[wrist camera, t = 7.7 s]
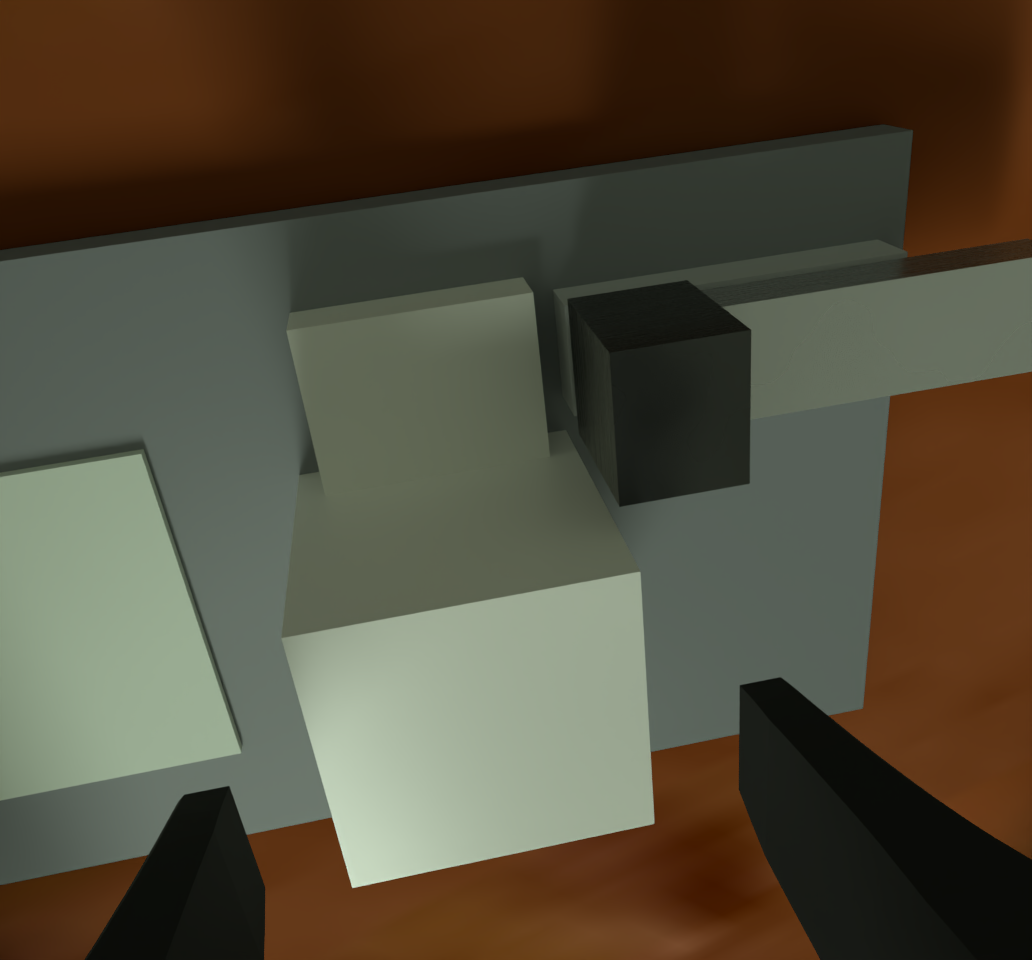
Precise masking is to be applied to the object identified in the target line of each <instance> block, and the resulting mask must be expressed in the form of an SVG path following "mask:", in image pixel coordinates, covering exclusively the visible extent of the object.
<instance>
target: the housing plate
mask: <svg viewBox="0 0 1032 960" xmlns="http://www.w3.org/2000/svg"><path fill="white" fill-rule="evenodd" d="M912 137H913V130H909V129H904V128H899V127H894V126H889V125H884V124H882V125H875V126H868V127H861V128H854V129H847V130H840V131H833V132H826V133H819V134H812V135H805V136H798V137H791V138H784V139H777V140H770V141H763V142H756V143H749V144H742V145H735V146H728V147H721V148H714V149H707V150H699V151H692V152H685V153H678V154H671V155H664V156H657V157H650V158H643V159H636V160H629V161H622V162H615V163H608V164H601V165H594V166H587V167H580V168H573V169H566V170H559V171H552V172H545V173H538V174H531V175H524V176H517V177H510V178H503V179H496V180H489V181H482V182H475V183H468V184H461V185H454V186H447V187H440V188H433V189H426V190H419V191H412V192H405V193H398V194H391V195H384V196H377V197H370V198H363V199H356V200H349V201H342V202H335V203H328V204H321V205H314V206H307V207H300V208H293V209H286V210H279V211H272V212H265V213H258V214H251V215H244V216H237V217H230V218H223V219H216V220H208V221H201V222H194V223H187V224H180V225H173V226H166V227H159V228H152V229H145V230H138V231H131V232H124V233H117V234H110V235H103V236H96V237H89V238H82V239H75V240H68V241H61V242H54V243H47V244H40V245H33V246H26V247H19V248H12V249H5V250H0V885H3V884H8V883H13V882H18V881H23V880H28V879H33V878H38V877H42V876H47V875H52V874H57V873H62V872H67V871H72V870H77V869H81V868H86V867H91V866H96V865H101V864H106V863H111V862H116V861H121V860H125V859H130V858H135V857H140V856H145V855H149V853H150V851H151V849H152V848H153V846H154V844H155V842H156V841H157V839H158V837H159V835H160V833H161V832H162V830H163V828H164V826H165V824H166V823H167V821H168V819H169V817H170V815H171V814H172V812H173V810H174V808H175V806H176V805H177V803H178V802H179V800H180V799H181V798H182V797H183V795H185V794H190V793H195V792H200V791H205V790H210V789H215V788H221V787H226V786H230V789H231V792H232V795H233V798H234V801H235V804H236V806H237V809H238V812H239V815H240V818H241V821H242V823H243V826H244V829H245V832H246V835H247V834H252V833H257V832H262V831H267V830H272V829H277V828H282V827H286V826H291V825H296V824H301V823H306V822H311V821H316V820H321V819H325V818H330V817H332V815H331V811H330V808H329V804H328V801H327V797H326V793H325V790H324V786H323V783H322V779H321V776H320V772H319V769H318V765H317V762H316V758H315V755H314V751H313V748H312V744H311V741H310V737H309V734H308V730H307V727H306V723H305V720H304V716H303V713H302V709H301V706H300V702H299V699H298V695H297V692H296V688H295V685H294V681H293V678H292V674H291V671H290V667H289V664H288V660H287V657H286V653H285V650H284V646H283V643H282V639H281V636H282V627H283V618H284V609H285V599H286V590H287V581H288V572H289V563H290V553H291V544H292V535H293V526H294V517H295V507H296V498H297V489H298V480H299V475H303V474H309V473H315V472H319V468H318V463H317V459H316V455H315V451H314V446H313V442H312V438H311V434H310V429H309V425H308V421H307V417H306V412H305V408H304V404H303V400H302V395H301V391H300V387H299V383H298V378H297V374H296V370H295V366H294V362H293V357H292V353H291V349H290V345H289V340H288V336H287V332H286V329H287V324H288V319H289V314H290V313H292V312H298V311H305V310H312V309H318V308H325V307H331V306H338V305H344V304H351V303H357V302H364V301H370V300H377V299H383V298H390V297H396V296H403V295H410V294H416V293H423V292H429V291H436V290H442V289H449V288H455V287H462V286H468V285H475V284H481V283H488V282H494V281H501V280H508V279H514V278H521V277H523V278H524V280H525V281H526V283H527V284H528V286H529V287H530V288H531V290H532V291H533V296H534V305H535V315H536V325H537V334H538V344H539V354H540V364H541V373H542V383H543V393H544V402H545V412H546V422H547V431H548V433H550V432H556V431H562V430H566V431H567V433H568V435H569V437H570V439H571V441H572V443H573V444H574V446H575V448H576V450H577V452H578V454H579V456H580V458H581V460H582V462H583V463H584V465H585V467H586V469H587V471H588V473H589V475H590V477H591V479H592V481H593V482H594V484H595V486H596V488H597V490H598V492H599V494H600V496H601V498H602V500H603V501H604V503H605V505H606V507H607V509H608V511H609V513H610V515H611V517H612V518H613V520H614V522H615V524H616V526H617V528H618V530H619V532H620V534H621V536H622V537H623V539H624V541H625V543H626V545H627V547H628V549H629V551H630V553H631V555H632V556H633V558H634V560H635V562H636V564H637V566H638V568H639V570H640V572H641V591H642V609H643V627H644V645H645V663H646V681H647V699H648V717H649V735H650V752H652V751H657V750H662V749H667V748H672V747H677V746H682V745H686V744H691V743H696V742H701V741H706V740H711V739H716V738H721V737H726V736H730V735H735V734H739V711H740V685H743V684H748V683H753V682H758V681H763V680H768V679H773V678H778V677H781V678H783V679H784V680H785V681H787V682H788V683H789V684H790V685H792V686H793V687H794V688H795V689H797V690H798V691H799V692H800V693H801V694H803V695H804V696H805V697H806V698H807V699H809V700H810V701H811V702H812V703H813V704H815V705H816V706H817V707H818V708H819V709H821V710H822V711H823V712H824V713H825V714H827V715H833V714H838V713H843V712H847V711H852V710H857V709H862V708H863V701H864V689H865V678H866V666H867V655H868V643H869V632H870V620H871V609H872V597H873V586H874V574H875V563H876V551H877V540H878V528H879V517H880V505H881V494H882V482H883V471H884V459H885V448H886V436H887V425H888V413H889V401H890V396H886V397H880V398H874V399H868V400H862V401H857V402H851V403H845V404H839V405H833V406H827V407H822V408H816V409H810V410H804V411H798V412H793V413H787V414H781V415H775V416H769V417H763V418H758V419H752V420H750V484H745V485H740V486H734V487H729V488H723V489H717V490H712V491H706V492H701V493H695V494H689V495H684V496H678V497H673V498H667V499H661V500H656V501H650V502H645V503H639V504H633V505H628V506H622V507H619V505H618V503H617V502H616V500H615V498H614V496H613V494H612V493H611V491H610V489H609V487H608V485H607V484H606V482H605V480H604V478H603V476H602V475H601V473H600V471H599V469H598V467H597V466H596V464H595V462H594V460H593V458H592V456H591V455H590V453H589V451H588V449H587V447H586V446H585V444H584V442H583V440H582V438H581V437H580V435H579V430H578V418H577V407H576V395H575V383H574V372H573V360H572V348H571V336H570V325H569V313H568V301H567V299H569V298H576V297H582V296H588V295H595V294H601V293H608V292H614V291H620V290H627V289H633V288H640V287H646V286H652V285H659V284H665V283H672V282H678V281H684V280H688V281H689V282H690V283H692V284H693V285H694V286H695V287H697V288H698V289H699V290H704V289H710V288H716V287H723V286H729V285H735V284H742V283H748V282H755V281H761V280H767V279H774V278H780V277H786V276H793V275H799V274H805V273H812V272H818V271H824V270H831V269H837V268H844V267H850V266H856V265H863V264H869V263H875V262H882V261H888V260H894V259H901V258H907V253H908V252H907V251H904V250H903V240H904V229H905V217H906V206H907V194H908V183H909V171H910V160H911V148H912Z"/></svg>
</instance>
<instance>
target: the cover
mask: <svg viewBox="0 0 1032 960" xmlns="http://www.w3.org/2000/svg"><path fill="white" fill-rule="evenodd" d="M286 332H287V336H288V340H289V345H290V349H291V353H292V357H293V362H294V366H295V370H296V374H297V378H298V383H299V387H300V391H301V395H302V400H303V404H304V408H305V412H306V417H307V421H308V425H309V429H310V434H311V438H312V442H313V446H314V451H315V455H316V459H317V463H318V468H319V472H315V473H309V474H303V475H299V480H298V489H297V498H296V507H295V517H294V526H293V535H292V544H291V553H290V563H289V572H288V581H287V590H286V599H285V609H284V618H283V627H282V636H281V639H282V643H283V646H284V650H285V653H286V657H287V660H288V664H289V667H290V671H291V674H292V678H293V681H294V685H295V688H296V692H297V695H298V699H299V702H300V706H301V709H302V713H303V716H304V720H305V723H306V727H307V730H308V734H309V737H310V741H311V744H312V748H313V751H314V755H315V758H316V762H317V765H318V769H319V772H320V776H321V779H322V783H323V786H324V790H325V793H326V797H327V801H328V804H329V808H330V811H331V815H332V818H333V822H334V825H335V829H336V832H337V836H338V839H339V843H340V846H341V850H342V853H343V857H344V860H345V864H346V867H347V871H348V874H349V878H350V881H351V885H352V888H355V887H359V886H364V885H369V884H373V883H378V882H383V881H387V880H392V879H397V878H402V877H406V876H411V875H416V874H420V873H425V872H430V871H434V870H439V869H444V868H449V867H453V866H458V865H463V864H467V863H472V862H477V861H482V860H486V859H491V858H496V857H500V856H505V855H510V854H514V853H519V852H524V851H529V850H533V849H538V848H543V847H547V846H552V845H557V844H562V843H566V842H571V841H576V840H580V839H585V838H590V837H594V836H599V835H604V834H609V833H613V832H618V831H623V830H627V829H632V828H637V827H641V826H646V825H651V824H654V807H653V789H652V771H651V753H650V735H649V717H648V699H647V681H646V663H645V645H644V627H643V609H642V591H641V572H640V570H639V568H638V566H637V564H636V562H635V560H634V558H633V556H632V555H631V553H630V551H629V549H628V547H627V545H626V543H625V541H624V539H623V537H622V536H621V534H620V532H619V530H618V528H617V526H616V524H615V522H614V520H613V518H612V517H611V515H610V513H609V511H608V509H607V507H606V505H605V503H604V501H603V500H602V498H601V496H600V494H599V492H598V490H597V488H596V486H595V484H594V482H593V481H592V479H591V477H590V475H589V473H588V471H587V469H586V467H585V465H584V463H583V462H582V460H581V458H580V456H579V454H578V452H577V450H576V448H575V446H574V444H573V443H572V441H571V439H570V437H569V435H568V433H567V431H566V430H562V431H556V432H550V433H548V431H547V422H546V412H545V402H544V393H543V383H542V373H541V364H540V354H539V344H538V334H537V325H536V315H535V305H534V296H533V291H532V290H531V288H530V287H529V286H528V284H527V283H526V281H525V280H524V278H523V277H521V278H514V279H508V280H501V281H494V282H488V283H481V284H475V285H468V286H462V287H455V288H449V289H442V290H436V291H429V292H423V293H416V294H410V295H403V296H396V297H390V298H383V299H377V300H370V301H364V302H357V303H351V304H344V305H338V306H331V307H325V308H318V309H312V310H305V311H298V312H292V313H290V314H289V319H288V324H287V329H286Z"/></svg>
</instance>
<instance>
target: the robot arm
mask: <svg viewBox="0 0 1032 960" xmlns="http://www.w3.org/2000/svg"><path fill="white" fill-rule="evenodd" d="M739 791H740V793H741V796H742V798H743V801H744V804H745V806H746V809H747V811H748V814H749V817H750V819H751V822H752V825H753V827H754V830H755V832H756V834H757V837H758V839H759V842H760V844H761V847H762V849H763V852H764V854H765V856H766V858H767V860H768V862H769V864H770V866H771V868H772V870H773V872H774V874H775V876H776V878H777V879H778V881H779V883H780V885H781V887H782V889H783V891H784V893H785V894H786V896H787V898H788V900H789V902H790V904H791V906H792V908H793V910H794V911H795V913H796V915H797V917H798V919H799V921H800V922H801V924H802V926H803V928H804V930H805V932H806V934H807V935H808V937H809V939H810V941H811V943H812V945H813V947H814V948H815V950H816V952H817V954H818V956H819V958H820V960H1032V860H1031V859H1030V858H1028V857H1026V856H1025V855H1023V854H1021V853H1019V852H1018V851H1016V850H1014V849H1013V848H1011V847H1009V846H1008V845H1006V844H1004V843H1003V842H1001V841H999V840H998V839H996V838H994V837H993V836H991V835H990V834H988V833H986V832H985V831H983V830H982V829H980V828H979V827H977V826H976V825H974V824H973V823H971V822H969V821H968V820H966V819H965V818H964V817H962V816H961V815H959V814H958V813H956V812H955V811H953V810H952V809H950V808H949V807H947V806H946V805H945V804H943V803H942V802H940V801H939V800H937V799H936V798H934V797H933V796H932V795H930V794H929V793H927V792H926V791H925V790H923V789H922V788H921V787H919V786H918V785H916V784H915V783H914V782H912V781H911V780H910V779H908V778H907V777H906V776H904V775H903V774H902V773H900V772H899V771H898V770H896V769H895V768H894V767H892V766H891V765H890V764H888V763H887V762H886V761H884V760H883V759H882V758H881V757H879V756H878V755H877V754H875V753H874V752H873V751H871V750H870V749H869V748H868V747H866V746H865V745H864V744H862V743H861V742H860V741H859V740H857V739H856V738H855V737H854V736H852V735H851V734H850V733H849V732H848V731H846V730H845V729H844V728H843V727H841V726H840V725H839V724H838V723H836V722H835V721H834V720H833V719H832V718H830V717H829V716H828V715H827V714H825V713H824V712H823V711H822V710H821V709H819V708H818V707H817V706H816V705H815V704H813V703H812V702H811V701H810V700H809V699H807V698H806V697H805V696H804V695H803V694H801V693H800V692H799V691H798V690H797V689H795V688H794V687H793V686H792V685H790V684H789V683H788V682H787V681H785V680H784V679H783V678H781V677H778V678H773V679H768V680H763V681H758V682H753V683H748V684H743V685H740V711H739ZM264 937H265V886H264V883H263V880H262V877H261V875H260V872H259V869H258V866H257V863H256V860H255V858H254V855H253V852H252V849H251V846H250V843H249V840H248V838H247V835H246V832H245V829H244V826H243V823H242V821H241V818H240V815H239V812H238V809H237V806H236V804H235V801H234V798H233V795H232V792H231V789H230V786H226V787H221V788H215V789H210V790H205V791H200V792H195V793H190V794H185V795H183V797H182V798H181V799H180V800H179V802H178V803H177V805H176V806H175V808H174V810H173V812H172V814H171V815H170V817H169V819H168V821H167V823H166V824H165V826H164V828H163V830H162V832H161V833H160V835H159V837H158V839H157V841H156V842H155V844H154V846H153V848H152V849H151V851H150V853H149V855H148V856H147V858H146V860H145V862H144V863H143V865H142V867H141V869H140V870H139V872H138V874H137V875H136V877H135V879H134V881H133V882H132V884H131V886H130V887H129V889H128V891H127V892H126V894H125V896H124V897H123V899H122V901H121V902H120V904H119V905H118V907H117V909H116V910H115V912H114V914H113V915H112V917H111V919H110V920H109V922H108V923H107V925H106V927H105V928H104V930H103V932H102V933H101V935H100V936H99V938H98V940H97V941H96V943H95V944H94V946H93V947H92V949H91V951H90V952H89V954H88V955H87V957H86V958H85V960H264Z"/></svg>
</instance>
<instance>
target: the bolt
mask: <svg viewBox="0 0 1032 960" xmlns="http://www.w3.org/2000/svg"><path fill="white" fill-rule="evenodd" d="M567 301H568V313H569V325H570V336H571V348H572V360H573V372H574V383H575V395H576V407H577V418H578V430H579V435H580V437H581V438H582V440H583V442H584V444H585V446H586V447H587V449H588V451H589V453H590V455H591V456H592V458H593V460H594V462H595V464H596V466H597V467H598V469H599V471H600V473H601V475H602V476H603V478H604V480H605V482H606V484H607V485H608V487H609V489H610V491H611V493H612V494H613V496H614V498H615V500H616V502H617V503H618V505H619V507H622V506H628V505H633V504H639V503H645V502H650V501H656V500H661V499H667V498H673V497H678V496H684V495H689V494H695V493H701V492H706V491H712V490H717V489H723V488H729V487H734V486H740V485H745V484H750V420H752V419H758V418H763V417H769V416H775V415H781V414H787V413H793V412H798V411H804V410H810V409H816V408H822V407H827V406H833V405H839V404H845V403H851V402H857V401H862V400H868V399H874V398H880V397H886V396H891V395H897V394H903V393H909V392H915V391H921V390H926V389H932V388H938V387H944V386H950V385H955V384H961V383H967V382H973V381H979V380H985V379H990V378H996V377H1002V376H1008V375H1014V374H1019V373H1025V372H1031V371H1032V240H1031V239H1022V240H1015V241H1009V242H1002V243H996V244H990V245H983V246H977V247H971V248H964V249H958V250H952V251H945V252H939V253H933V254H926V255H920V256H913V257H907V258H901V259H894V260H888V261H882V262H875V263H869V264H863V265H856V266H850V267H844V268H837V269H831V270H824V271H818V272H812V273H805V274H799V275H793V276H786V277H780V278H774V279H767V280H761V281H755V282H748V283H742V284H735V285H729V286H723V287H716V288H710V289H704V290H699V289H698V288H697V287H695V286H694V285H693V284H692V283H690V282H689V281H688V280H684V281H678V282H672V283H665V284H659V285H652V286H646V287H640V288H633V289H627V290H620V291H614V292H608V293H601V294H595V295H588V296H582V297H576V298H569V299H567Z"/></svg>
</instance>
